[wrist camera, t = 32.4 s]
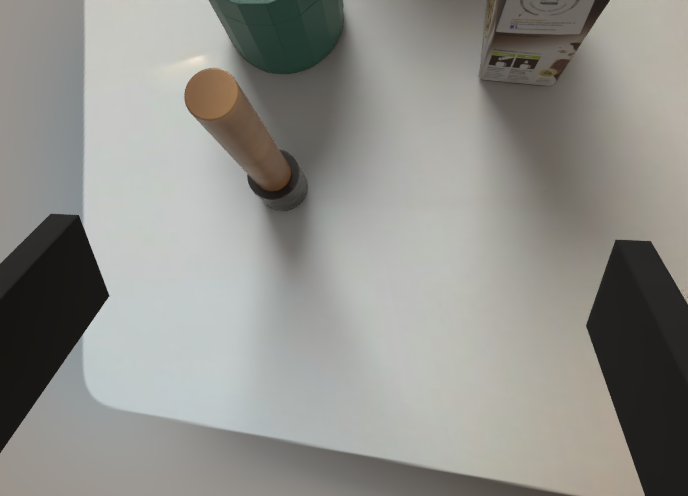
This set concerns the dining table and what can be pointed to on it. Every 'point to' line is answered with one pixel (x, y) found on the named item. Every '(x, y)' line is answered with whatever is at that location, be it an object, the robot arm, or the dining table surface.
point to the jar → (281, 31)
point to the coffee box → (534, 38)
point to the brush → (245, 138)
